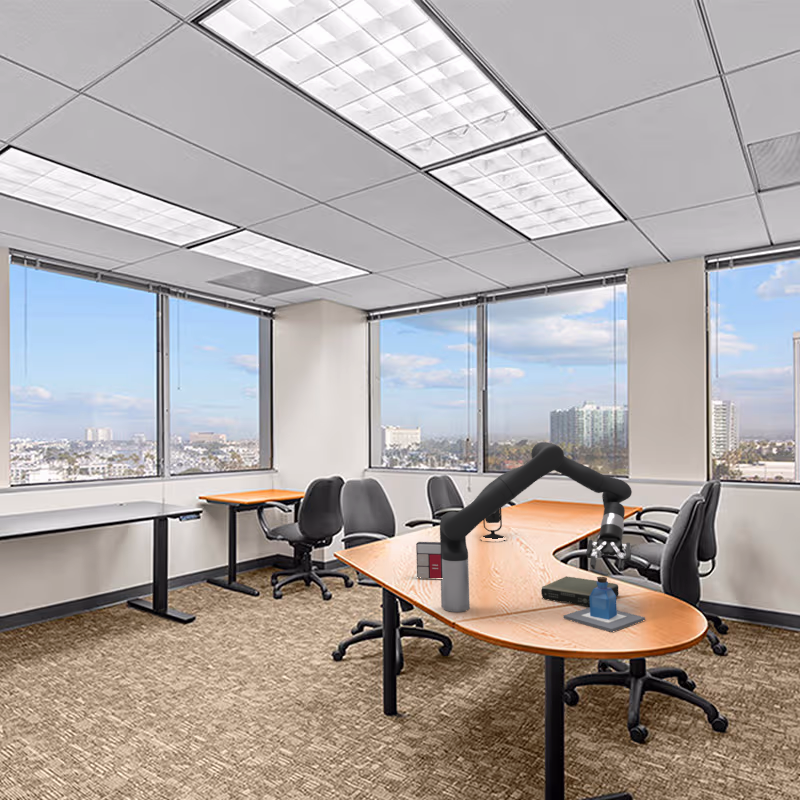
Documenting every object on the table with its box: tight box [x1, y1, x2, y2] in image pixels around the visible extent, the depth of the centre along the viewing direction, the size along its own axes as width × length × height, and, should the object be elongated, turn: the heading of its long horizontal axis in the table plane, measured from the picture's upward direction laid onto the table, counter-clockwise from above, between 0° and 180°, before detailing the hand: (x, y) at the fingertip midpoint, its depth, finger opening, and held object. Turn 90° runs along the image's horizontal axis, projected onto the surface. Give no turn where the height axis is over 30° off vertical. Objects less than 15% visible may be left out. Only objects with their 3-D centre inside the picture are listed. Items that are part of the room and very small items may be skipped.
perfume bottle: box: [590, 576, 618, 620], centre depth 193 cm, size 6×6×12 cm
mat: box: [562, 607, 646, 633], centre depth 192 cm, size 18×18×1 cm
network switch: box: [540, 576, 620, 608], centre depth 219 cm, size 23×23×5 cm
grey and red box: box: [415, 541, 443, 578], centre depth 253 cm, size 11×4×15 cm, turn 76°
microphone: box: [482, 507, 505, 539], centre depth 343 cm, size 16×16×30 cm
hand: (606, 569), depth 199 cm, fingers open, 8 cm apart
